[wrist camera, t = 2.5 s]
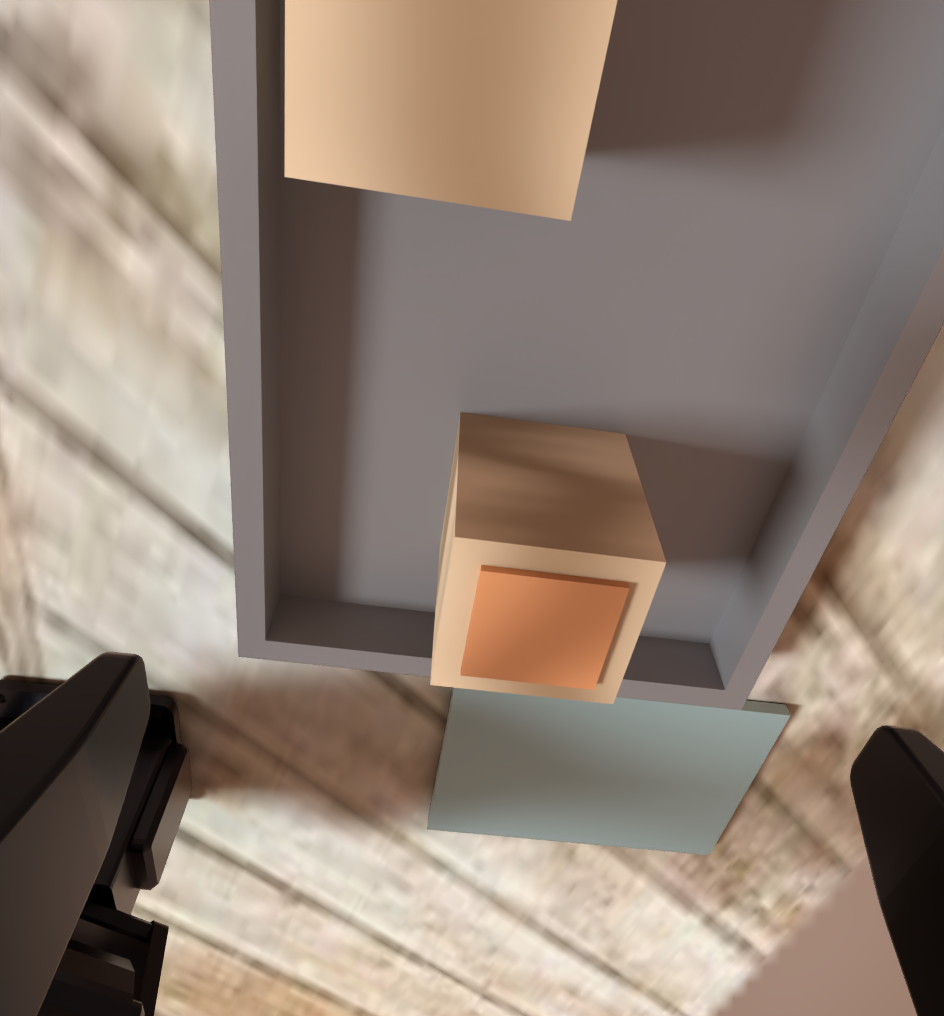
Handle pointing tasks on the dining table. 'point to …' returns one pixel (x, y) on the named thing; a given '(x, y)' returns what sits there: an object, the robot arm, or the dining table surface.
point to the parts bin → (589, 327)
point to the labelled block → (542, 561)
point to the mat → (598, 769)
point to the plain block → (445, 97)
